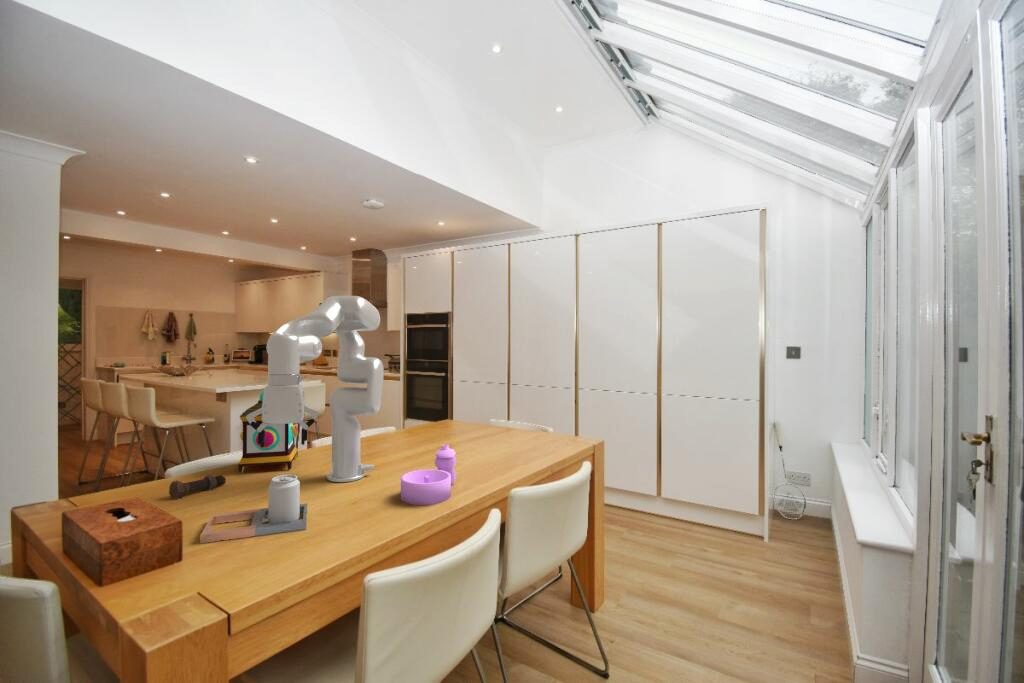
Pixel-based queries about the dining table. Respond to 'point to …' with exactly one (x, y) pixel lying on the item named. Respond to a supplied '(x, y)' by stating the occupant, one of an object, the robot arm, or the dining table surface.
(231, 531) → the tray
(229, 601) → the dining table surface
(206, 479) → the bolt
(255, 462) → the decorative lantern
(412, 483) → the container set
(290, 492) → the can
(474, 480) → the dining table surface
